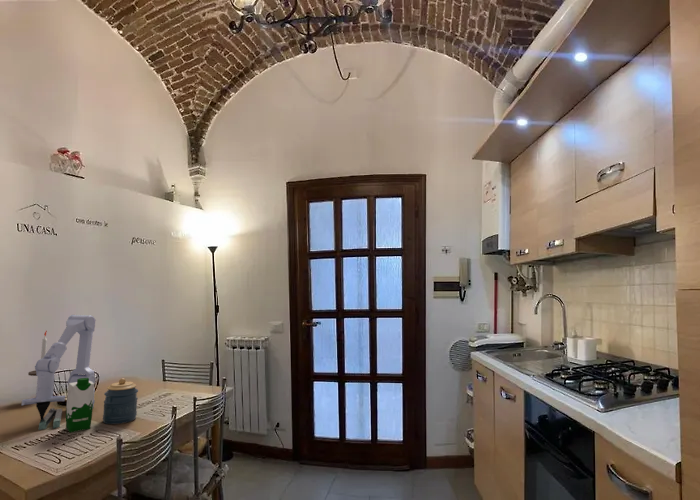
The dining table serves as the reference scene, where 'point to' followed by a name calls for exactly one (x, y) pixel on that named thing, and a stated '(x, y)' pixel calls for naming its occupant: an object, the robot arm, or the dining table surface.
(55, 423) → the tongs fixed
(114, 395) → the canister
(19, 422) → the dining table surface
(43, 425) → the tong leg
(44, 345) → the candlestick
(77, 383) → the milk carton
